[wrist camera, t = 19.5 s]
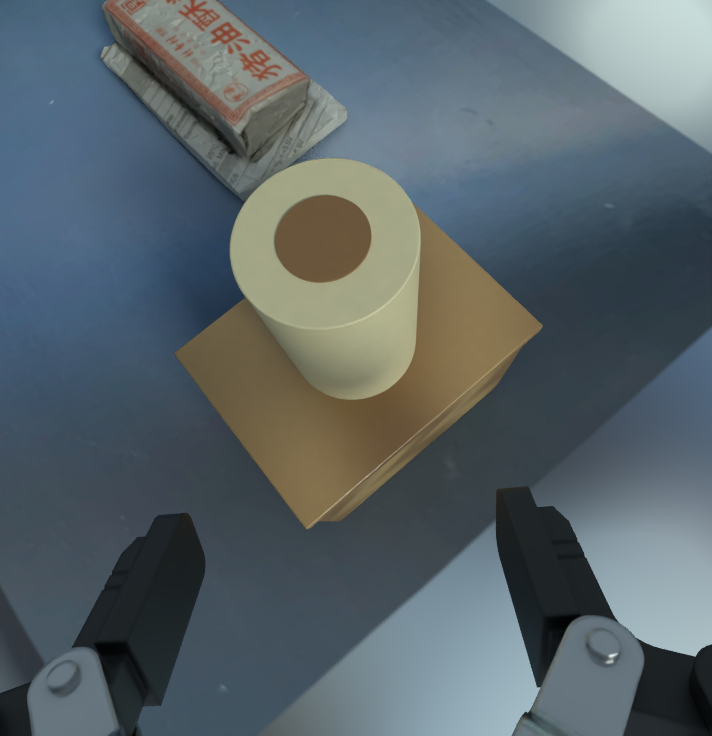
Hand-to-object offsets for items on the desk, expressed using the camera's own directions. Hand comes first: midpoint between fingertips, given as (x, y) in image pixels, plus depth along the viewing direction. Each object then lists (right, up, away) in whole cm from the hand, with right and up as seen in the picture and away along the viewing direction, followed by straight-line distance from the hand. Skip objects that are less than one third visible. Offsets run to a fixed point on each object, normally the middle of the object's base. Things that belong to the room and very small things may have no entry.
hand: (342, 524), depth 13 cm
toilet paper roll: (0, +5, +8) cm, 10 cm away
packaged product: (-10, +25, +25) cm, 37 cm away
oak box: (+1, +2, +18) cm, 18 cm away
